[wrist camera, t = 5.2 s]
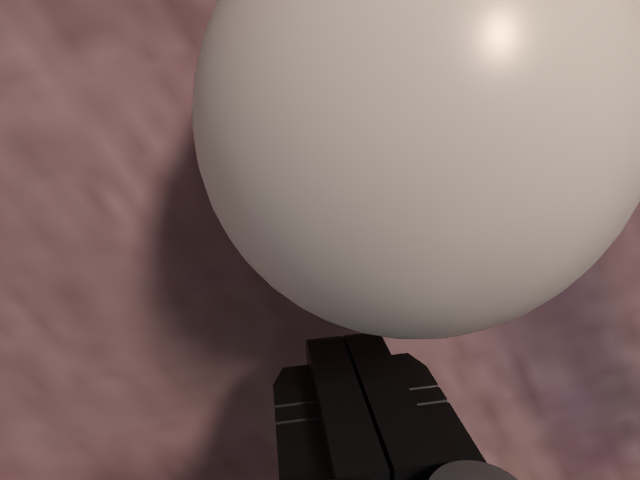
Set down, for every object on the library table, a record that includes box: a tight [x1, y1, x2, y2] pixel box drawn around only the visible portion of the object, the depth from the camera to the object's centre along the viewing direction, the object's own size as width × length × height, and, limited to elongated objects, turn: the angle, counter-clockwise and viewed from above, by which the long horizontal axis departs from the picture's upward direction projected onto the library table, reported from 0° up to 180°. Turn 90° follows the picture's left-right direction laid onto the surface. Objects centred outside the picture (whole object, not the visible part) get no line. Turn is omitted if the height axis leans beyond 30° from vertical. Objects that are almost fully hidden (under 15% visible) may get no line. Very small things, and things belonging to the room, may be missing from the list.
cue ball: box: [192, 0, 640, 339], centre depth 7 cm, size 6×6×6 cm
